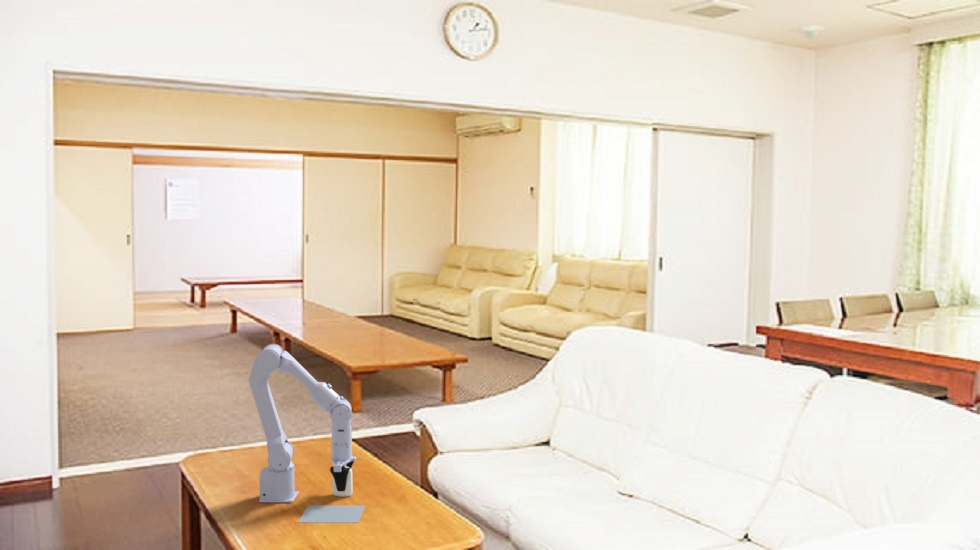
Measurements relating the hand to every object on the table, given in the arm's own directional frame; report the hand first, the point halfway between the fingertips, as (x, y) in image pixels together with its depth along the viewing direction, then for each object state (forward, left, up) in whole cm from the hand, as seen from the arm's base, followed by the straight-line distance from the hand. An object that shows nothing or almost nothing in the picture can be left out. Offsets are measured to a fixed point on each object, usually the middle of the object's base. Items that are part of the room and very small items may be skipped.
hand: (342, 488), depth 235 cm
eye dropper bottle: (0, 0, -2) cm, 2 cm away
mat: (0, -14, -2) cm, 15 cm away
